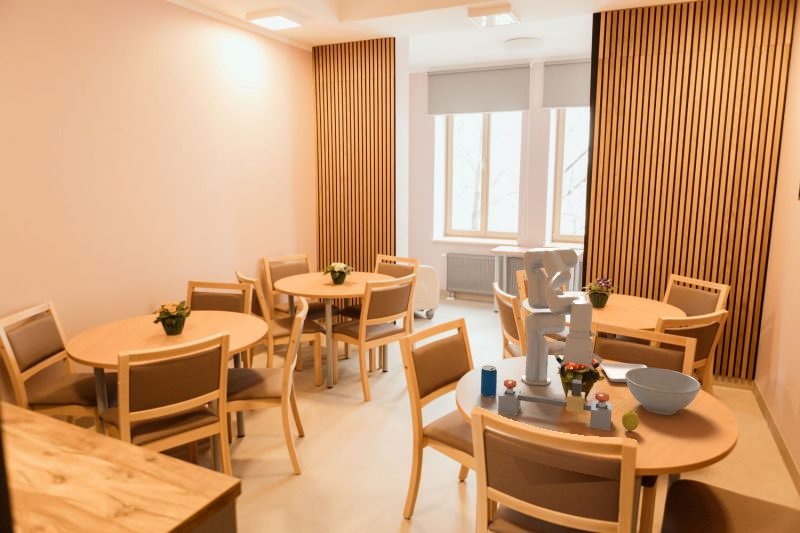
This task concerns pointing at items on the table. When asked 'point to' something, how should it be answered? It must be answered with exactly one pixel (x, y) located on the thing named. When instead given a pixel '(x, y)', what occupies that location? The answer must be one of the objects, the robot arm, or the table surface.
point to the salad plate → (619, 370)
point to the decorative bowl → (662, 389)
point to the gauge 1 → (510, 386)
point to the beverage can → (488, 381)
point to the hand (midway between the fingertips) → (576, 376)
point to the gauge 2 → (602, 399)
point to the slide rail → (512, 405)
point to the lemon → (630, 420)
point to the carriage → (575, 398)
